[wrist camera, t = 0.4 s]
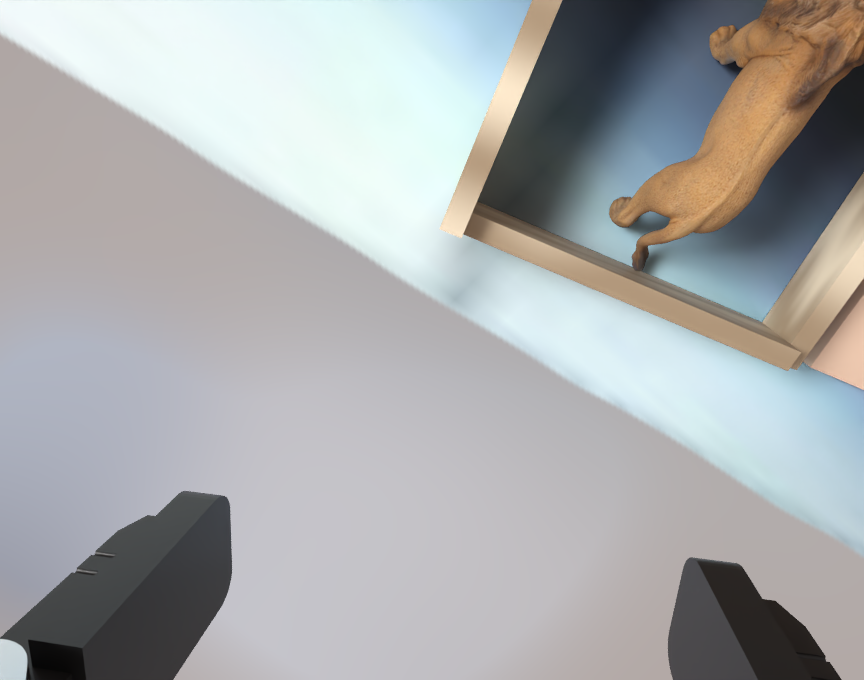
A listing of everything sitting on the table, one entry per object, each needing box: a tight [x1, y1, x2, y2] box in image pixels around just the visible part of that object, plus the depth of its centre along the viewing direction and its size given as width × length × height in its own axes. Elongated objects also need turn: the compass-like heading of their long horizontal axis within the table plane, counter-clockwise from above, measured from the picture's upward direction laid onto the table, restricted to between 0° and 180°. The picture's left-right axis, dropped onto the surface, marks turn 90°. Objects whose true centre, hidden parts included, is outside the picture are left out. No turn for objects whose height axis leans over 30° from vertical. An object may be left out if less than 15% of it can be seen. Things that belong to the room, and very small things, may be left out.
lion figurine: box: [609, 0, 864, 271], centre depth 22 cm, size 15×5×9 cm, turn 162°
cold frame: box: [440, 0, 864, 371], centre depth 24 cm, size 18×18×5 cm
